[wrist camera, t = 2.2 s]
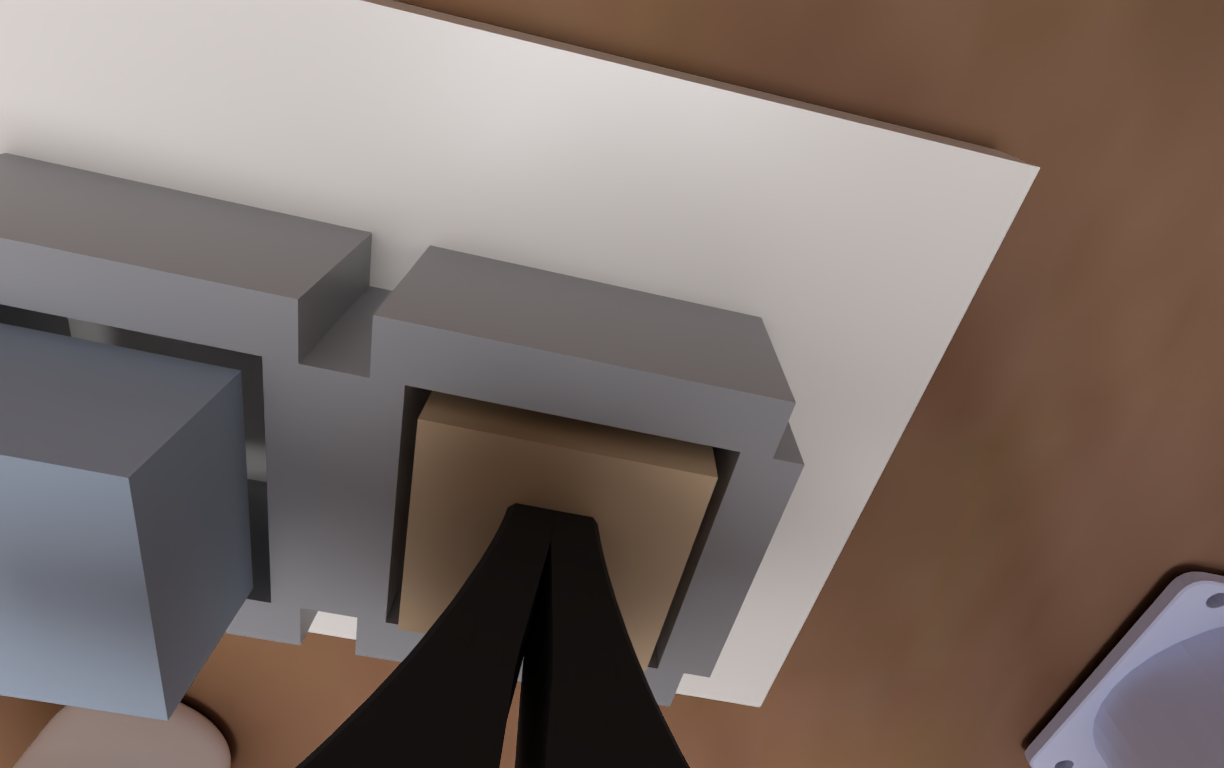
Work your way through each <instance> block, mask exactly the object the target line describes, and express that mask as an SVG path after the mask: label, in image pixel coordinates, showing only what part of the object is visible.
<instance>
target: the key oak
mask: <svg viewBox="0 0 1224 768" xmlns="http://www.w3.org/2000/svg"><path fill="white" fill-rule="evenodd" d="M717 479H718V475H717V469H716V464H715V458H714V453H713V447H712V446H707V445H702V444H697V443H692V442H687V441H682V440H677V439H672V438H667V437H662V436H657V435H652V434H647V433H642V432H637V431H632V430H627V429H622V428H617V427H612V426H607V425H602V424H597V423H592V422H587V421H582V420H577V419H572V418H567V417H562V416H557V415H552V414H547V413H542V412H537V411H532V410H527V409H522V408H517V407H512V406H507V405H502V404H497V403H492V402H487V401H482V400H477V399H472V398H467V397H462V396H457V395H452V394H447V393H442V392H437V391H432V392H431V394H430V396H429V398H428V400H427V402H426V404H425V406H424V408H423V410H422V412H421V414H420V416H419V418H418V422H417V433H416V443H415V454H414V464H413V475H412V485H411V496H410V506H409V517H408V527H407V538H406V549H405V559H404V570H403V580H402V591H401V601H400V612H399V622H398V629H400V630H406V631H412V632H418V633H424V634H426V633H427V631H428V630H429V629H430V628H431V626H432V625H433V624H434V623H435V621H436V620H437V619H438V618H439V616H440V615H441V614H442V613H443V611H444V610H445V609H446V608H447V606H448V605H449V604H450V602H451V601H452V600H453V598H454V597H455V596H456V594H457V593H458V592H459V590H460V589H461V587H462V586H463V584H464V583H465V581H466V580H467V578H468V577H469V576H470V574H471V573H472V571H473V570H474V568H475V567H476V565H477V564H478V562H479V561H480V559H481V558H482V556H483V554H484V553H485V551H486V550H487V548H488V546H489V545H490V543H491V541H492V540H493V538H494V536H495V534H496V532H497V530H498V528H499V526H500V524H501V522H502V520H503V518H504V516H505V513H506V510H507V507H509V506H511V505H513V504H515V503H519V504H524V505H529V506H535V507H540V508H545V509H551V510H556V511H561V512H567V513H572V514H578V515H583V516H589V517H593V518H594V519H595V521H596V522H597V524H598V528H599V534H600V540H601V545H602V549H603V554H604V558H605V562H606V566H607V569H608V573H609V577H610V580H611V584H612V587H613V590H614V593H615V597H616V600H617V603H618V606H619V609H620V611H621V614H622V617H623V620H624V623H625V626H626V629H627V632H628V635H629V637H630V640H631V642H632V645H633V648H634V650H635V653H636V655H637V658H638V660H639V663H640V665H641V667H642V670H643V671H646V670H647V667H648V664H649V662H650V659H651V656H652V654H653V651H654V648H655V645H656V643H657V640H658V637H659V635H660V632H661V629H662V627H663V624H664V621H665V619H666V616H667V613H668V611H669V608H670V605H671V603H672V600H673V597H674V595H675V592H676V589H677V586H678V584H679V581H680V578H681V576H682V573H683V570H684V568H685V565H686V562H687V560H688V557H689V554H690V552H691V549H692V546H693V544H694V541H695V538H696V536H697V533H698V530H699V527H700V525H701V522H702V519H703V517H704V514H705V511H706V509H707V506H708V503H709V501H710V498H711V495H712V493H713V490H714V487H715V485H716V482H717Z"/></svg>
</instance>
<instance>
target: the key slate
mask: <svg viewBox="0 0 1224 768" xmlns="http://www.w3.org/2000/svg"><path fill="white" fill-rule="evenodd" d="M252 589H253V574H252V556H251V538H250V520H249V501H248V483H247V465H246V447H245V428H244V410H243V392H242V374H241V370H236V369H231V368H226V367H221V366H216V365H211V364H206V363H201V362H196V361H191V360H186V359H180V358H175V357H170V356H165V355H160V354H155V353H150V352H145V351H140V350H135V349H130V348H125V347H120V346H115V345H110V344H105V343H99V342H94V341H89V340H84V339H79V338H74V337H69V336H64V335H59V334H54V333H49V332H44V331H39V330H34V329H29V328H24V327H19V326H13V325H8V324H3V323H0V695H3V696H10V697H16V698H23V699H29V700H36V701H42V702H49V703H55V704H62V705H68V706H75V707H81V708H88V709H94V710H101V711H107V712H114V713H120V714H127V715H133V716H140V717H146V718H153V719H159V720H166V721H168V720H169V718H170V717H171V715H172V714H173V712H174V711H175V709H176V708H177V706H178V704H179V703H180V701H181V700H182V698H183V697H184V695H185V694H186V692H187V690H188V689H189V687H190V686H191V684H192V683H193V681H194V680H195V678H196V676H197V675H198V673H199V672H200V670H201V669H202V667H203V666H204V664H205V662H206V661H207V659H208V658H209V656H210V655H211V653H212V652H213V650H214V648H215V647H216V645H217V644H218V642H219V641H220V639H221V637H222V636H223V634H224V633H225V631H226V630H227V628H228V627H229V625H230V623H231V622H232V620H233V619H234V617H235V616H236V614H237V613H238V611H239V609H240V608H241V606H242V605H243V603H244V602H245V600H246V599H247V597H248V595H249V594H250V592H251V591H252Z"/></svg>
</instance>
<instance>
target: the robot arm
mask: <svg viewBox="0 0 1224 768" xmlns="http://www.w3.org/2000/svg"><path fill="white" fill-rule="evenodd" d="M523 657H524V658H523ZM522 661H523V667H522V680H521V693H520V706H519V719H518V733H517V746H516V760H515V768H690V767H689V765H688V763H687V762H686V760H685V758H684V756H683V754H682V752H681V751H680V749H679V747H678V745H677V743H676V741H675V739H674V737H673V735H672V733H671V731H670V729H669V727H668V725H667V723H666V721H665V719H664V717H663V715H662V713H661V711H660V708H659V706H658V704H657V702H656V700H655V698H654V695H653V693H652V691H651V689H650V686H649V684H648V682H647V679H646V677H645V675H644V672H643V670H642V667H641V665H640V663H639V660H638V658H637V655H636V653H635V650H634V648H633V645H632V642H631V640H630V637H629V635H628V632H627V629H626V626H625V623H624V620H623V617H622V614H621V611H620V609H619V606H618V603H617V600H616V597H615V593H614V590H613V587H612V584H611V580H610V577H609V573H608V569H607V566H606V562H605V558H604V554H603V549H602V545H601V540H600V534H599V528H598V524H597V522H596V521H595V519H594V518H593V517H589V516H583V515H578V514H572V513H567V512H561V511H556V510H551V509H545V508H540V507H535V506H529V505H524V504H519V503H515V504H513V505H511V506H509V507H507V510H506V513H505V516H504V518H503V520H502V522H501V524H500V526H499V528H498V530H497V532H496V534H495V536H494V538H493V540H492V541H491V543H490V545H489V546H488V548H487V550H486V551H485V553H484V554H483V556H482V558H481V559H480V561H479V562H478V564H477V565H476V567H475V568H474V570H473V571H472V573H471V574H470V576H469V577H468V578H467V580H466V581H465V583H464V584H463V586H462V587H461V589H460V590H459V592H458V593H457V594H456V596H455V597H454V598H453V600H452V601H451V602H450V604H449V605H448V606H447V608H446V609H445V610H444V611H443V613H442V614H441V615H440V616H439V618H438V619H437V620H436V621H435V623H434V624H433V625H432V626H431V628H430V629H429V630H428V631H427V633H426V634H425V635H424V637H423V638H422V639H421V640H420V641H419V643H418V644H417V645H416V646H415V647H414V648H413V650H412V651H411V652H410V653H409V654H408V655H407V657H406V658H405V659H404V660H403V661H402V662H401V663H400V665H399V666H398V667H397V668H396V669H395V670H394V671H393V672H392V673H391V674H390V676H389V677H388V678H387V679H386V680H385V681H384V682H383V683H382V684H381V685H380V686H379V687H378V688H377V689H376V691H375V692H374V693H373V694H372V695H371V696H370V697H369V698H368V699H367V700H366V701H365V702H364V703H363V704H362V705H361V706H360V707H359V708H358V709H357V710H356V711H355V712H354V713H353V714H352V715H351V716H350V717H349V718H348V719H347V720H346V721H345V722H344V723H343V724H342V725H341V726H340V727H339V728H338V729H337V730H336V731H335V732H334V733H333V734H332V735H331V736H329V737H328V738H327V739H326V740H325V741H324V742H323V743H322V744H321V745H320V746H319V747H318V748H317V749H316V750H315V751H313V752H312V753H311V754H310V755H309V756H308V757H307V758H306V759H305V760H304V761H303V762H301V763H300V764H299V765H298V766H297V767H296V768H499V766H500V760H501V753H502V747H503V741H504V734H505V728H506V722H507V718H508V714H509V710H510V706H511V703H512V699H513V695H514V691H515V688H516V684H517V680H518V676H519V673H520V669H521V665H522ZM1025 757H1026V759H1027V761H1028V763H1029V765H1030V767H1031V768H1224V576H1220V575H1215V574H1210V573H1205V572H1188V573H1184V574H1182V575H1180V576H1178V577H1176V578H1175V579H1174V580H1173V581H1171V583H1170V584H1169V585H1168V586H1167V587H1166V588H1165V589H1164V591H1163V592H1162V593H1161V594H1160V595H1159V596H1158V598H1157V599H1156V600H1155V601H1154V602H1153V603H1152V604H1151V606H1150V607H1149V608H1148V609H1147V610H1146V611H1145V613H1144V614H1143V615H1142V616H1141V617H1140V618H1139V619H1138V621H1137V622H1136V623H1135V624H1134V625H1133V626H1132V628H1131V629H1130V630H1129V631H1128V632H1127V633H1126V634H1125V636H1124V637H1123V638H1122V639H1121V640H1120V641H1119V643H1118V644H1117V645H1116V646H1115V647H1114V648H1113V649H1112V651H1111V652H1110V653H1109V654H1108V655H1107V656H1106V658H1105V659H1104V660H1103V661H1102V662H1101V663H1100V664H1099V666H1098V667H1097V668H1096V669H1095V670H1094V671H1093V673H1092V674H1091V675H1090V676H1089V677H1088V678H1087V680H1086V681H1085V682H1084V683H1083V684H1082V685H1081V686H1080V688H1079V689H1078V690H1077V691H1076V692H1075V693H1074V695H1073V696H1072V697H1071V698H1070V699H1069V700H1068V701H1067V703H1066V704H1065V705H1064V706H1063V707H1062V708H1061V710H1060V711H1059V712H1058V713H1057V714H1056V715H1055V716H1054V718H1053V719H1052V720H1051V721H1050V722H1049V723H1048V725H1047V726H1046V727H1045V728H1044V729H1043V730H1042V731H1041V733H1040V734H1039V735H1038V736H1037V737H1036V738H1035V740H1034V741H1033V742H1032V743H1031V744H1030V745H1029V746H1028V748H1027V749H1026V751H1025Z"/></svg>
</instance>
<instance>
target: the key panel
mask: <svg viewBox="0 0 1224 768" xmlns="http://www.w3.org/2000/svg"><path fill="white" fill-rule="evenodd" d="M1039 170H1040V167H1038V166H1035V165H1033V164H1030V163H1028V162H1026V161H1023V160H1021V159H1018V158H1016V157H1013V156H1011V155H1009V154H1006V153H1004V152H1001V151H999V150H996V149H992V148H988V147H984V146H980V145H976V144H972V143H968V142H964V141H960V140H956V139H952V138H948V137H944V136H939V135H935V134H931V133H927V132H923V131H919V130H915V129H911V128H907V127H903V126H899V125H895V124H891V123H887V122H883V121H879V120H875V119H871V118H867V117H863V116H859V115H854V114H850V113H846V112H842V111H838V110H834V109H830V108H826V107H822V106H818V105H814V104H810V103H806V102H802V101H798V100H794V99H790V98H786V97H782V96H778V95H774V94H770V93H765V92H761V91H757V90H753V89H749V88H745V87H741V86H737V85H733V84H729V83H725V82H721V81H717V80H713V79H709V78H705V77H701V76H697V75H693V74H689V73H685V72H681V71H676V70H672V69H668V68H664V67H660V66H656V65H652V64H648V63H644V62H640V61H636V60H632V59H628V58H624V57H620V56H616V55H612V54H608V53H604V52H600V51H596V50H591V49H587V48H583V47H579V46H575V45H571V44H567V43H563V42H559V41H555V40H551V39H547V38H543V37H539V36H535V35H531V34H527V33H523V32H519V31H515V30H511V29H507V28H502V27H498V26H494V25H490V24H486V23H482V22H478V21H474V20H470V19H466V18H462V17H458V16H454V15H450V14H446V13H442V12H438V11H434V10H430V9H426V8H422V7H417V6H413V5H409V4H405V3H401V2H397V1H393V0H0V323H3V324H8V325H13V326H19V327H24V328H29V329H34V330H39V331H44V332H49V333H54V334H59V335H64V336H69V337H74V338H79V339H84V340H89V341H94V342H99V343H105V344H110V345H115V346H120V347H125V348H130V349H135V350H140V351H145V352H150V353H155V354H160V355H165V356H170V357H175V358H180V359H186V360H191V361H196V362H201V363H206V364H211V365H216V366H221V367H226V368H231V369H236V370H241V374H242V392H243V410H244V428H245V447H246V465H247V483H248V501H249V520H250V538H251V556H252V574H253V589H252V591H251V592H250V594H249V595H248V597H247V599H246V600H245V602H244V603H243V605H242V606H241V608H240V609H239V611H238V613H237V614H236V616H235V617H234V619H233V620H232V622H231V623H230V625H229V627H228V628H227V630H226V631H225V633H228V634H234V635H240V636H246V637H252V638H258V639H264V640H270V641H276V642H282V643H289V644H295V645H301V643H302V641H303V640H304V638H305V636H306V634H307V632H313V633H319V634H325V635H331V636H337V637H343V638H349V639H355V640H356V652H355V655H361V656H367V657H373V658H379V659H385V660H391V661H397V662H402V661H403V660H404V659H405V658H406V657H407V655H408V654H409V653H410V652H411V651H412V650H413V648H414V647H415V646H416V645H417V644H418V643H419V641H420V640H421V639H422V638H423V637H424V635H425V634H424V633H418V632H412V631H406V630H400V629H398V622H399V612H400V601H401V591H402V580H403V570H404V559H405V549H406V538H407V527H408V517H409V506H410V496H411V485H412V475H413V464H414V454H415V443H416V433H417V422H418V418H419V416H420V414H421V412H422V410H423V408H424V406H425V404H426V402H427V400H428V398H429V396H430V394H431V392H432V391H437V392H442V393H447V394H452V395H457V396H462V397H467V398H472V399H477V400H482V401H487V402H492V403H497V404H502V405H507V406H512V407H517V408H522V409H527V410H532V411H537V412H542V413H547V414H552V415H557V416H562V417H567V418H572V419H577V420H582V421H587V422H592V423H597V424H602V425H607V426H612V427H617V428H622V429H627V430H632V431H637V432H642V433H647V434H652V435H657V436H662V437H667V438H672V439H677V440H682V441H687V442H692V443H697V444H702V445H707V446H712V447H713V453H714V458H715V464H716V469H717V475H718V479H717V482H716V485H715V487H714V490H713V493H712V495H711V498H710V501H709V503H708V506H707V509H706V511H705V514H704V517H703V519H702V522H701V525H700V527H699V530H698V533H697V536H696V538H695V541H694V544H693V546H692V549H691V552H690V554H689V557H688V560H687V562H686V565H685V568H684V570H683V573H682V576H681V578H680V581H679V584H678V586H677V589H676V592H675V595H674V597H673V600H672V603H671V605H670V608H669V611H668V613H667V616H666V619H665V621H664V624H663V627H662V629H661V632H660V635H659V637H658V640H657V643H656V645H655V648H654V651H653V654H652V656H651V659H650V662H649V664H648V667H647V670H646V671H643V672H644V675H645V677H646V679H647V682H648V684H649V686H650V689H651V691H652V693H653V695H654V698H655V700H656V702H657V704H658V705H663V706H669V707H670V705H671V703H672V700H673V698H674V695H675V693H678V694H684V695H689V696H695V697H701V698H707V699H713V700H719V701H725V702H731V703H737V704H743V705H749V706H755V707H761V705H762V703H763V701H764V699H765V697H766V695H767V693H768V691H769V689H770V687H771V685H772V684H773V682H774V680H775V678H776V676H777V674H778V672H779V670H780V668H781V666H782V664H783V662H784V660H785V658H786V657H787V655H788V653H789V651H790V649H791V647H792V645H793V643H794V641H795V639H796V637H797V635H798V633H799V632H800V630H801V628H802V626H803V624H804V622H805V620H806V618H807V616H808V614H809V612H810V610H811V608H812V606H813V605H814V603H815V601H816V599H817V597H818V595H819V593H820V591H821V589H822V587H823V585H824V583H825V581H826V580H827V578H828V576H829V574H830V572H831V570H832V568H833V566H834V564H835V562H836V560H837V558H838V556H839V555H840V553H841V551H842V549H843V547H844V545H845V543H846V541H847V539H848V537H849V535H850V533H851V531H852V529H853V528H854V526H855V524H856V522H857V520H858V518H859V516H860V514H861V512H862V510H863V508H864V506H865V504H866V503H867V501H868V499H869V497H870V495H871V493H872V491H873V489H874V487H875V485H876V483H877V481H878V479H879V478H880V476H881V474H882V472H883V470H884V468H885V466H886V464H887V462H888V460H889V458H890V456H891V454H892V452H893V451H894V449H895V447H896V445H897V443H898V441H899V439H900V437H901V435H902V433H903V431H904V429H905V427H906V426H907V424H908V422H909V420H910V418H911V416H912V414H913V412H914V410H915V408H916V406H917V404H918V402H919V401H920V399H921V397H922V395H923V393H924V391H925V389H926V387H927V385H928V383H929V381H930V379H931V377H932V375H933V374H934V372H935V370H936V368H937V366H938V364H939V362H940V360H941V358H942V356H943V354H944V352H945V350H946V349H947V347H948V345H949V343H950V341H951V339H952V337H953V335H954V333H955V331H956V329H957V327H958V325H959V324H960V322H961V320H962V318H963V316H964V314H965V312H966V310H967V308H968V306H969V304H970V302H971V300H972V298H973V297H974V295H975V293H976V291H977V289H978V287H979V285H980V283H981V281H982V279H983V277H984V275H985V273H986V272H987V270H988V268H989V266H990V264H991V262H992V260H993V258H994V256H995V254H996V252H997V250H998V248H999V247H1000V245H1001V243H1002V241H1003V239H1004V237H1005V235H1006V233H1007V231H1008V229H1009V227H1010V225H1011V223H1012V221H1013V220H1014V218H1015V216H1016V214H1017V212H1018V210H1019V208H1020V206H1021V204H1022V202H1023V200H1024V198H1025V196H1026V195H1027V193H1028V191H1029V189H1030V187H1031V185H1032V183H1033V181H1034V179H1035V177H1036V175H1037V173H1038V171H1039ZM523 658H524V657H523ZM522 667H523V661H522V665H521V669H520V673H519V676H518V680H517V681H518V682H521V680H522Z"/></svg>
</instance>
